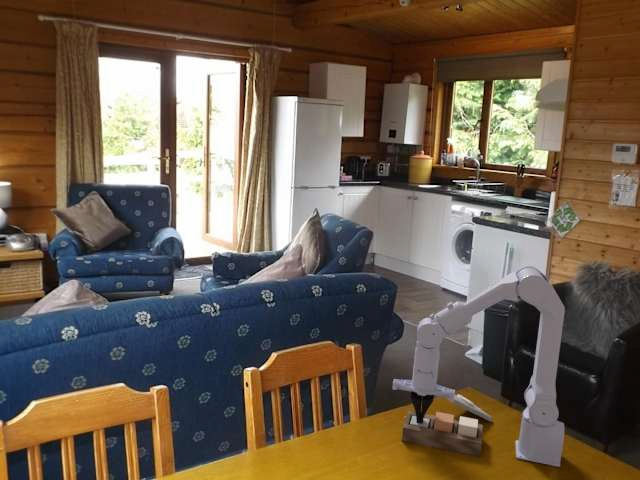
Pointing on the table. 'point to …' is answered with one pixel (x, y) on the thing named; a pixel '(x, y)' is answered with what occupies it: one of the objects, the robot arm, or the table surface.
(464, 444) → the brown slotted tray
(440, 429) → the rust key
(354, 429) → the table surface
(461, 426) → the ivory key
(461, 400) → the light switch
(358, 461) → the table surface
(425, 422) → the slate key
